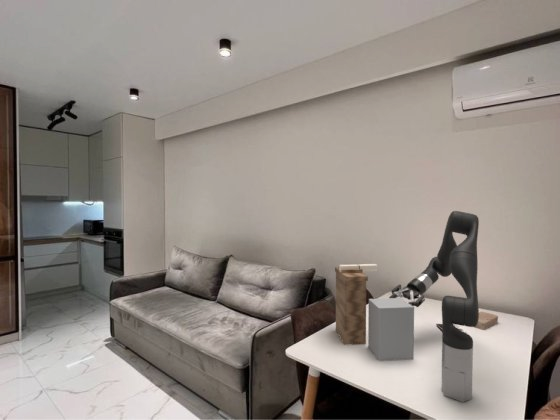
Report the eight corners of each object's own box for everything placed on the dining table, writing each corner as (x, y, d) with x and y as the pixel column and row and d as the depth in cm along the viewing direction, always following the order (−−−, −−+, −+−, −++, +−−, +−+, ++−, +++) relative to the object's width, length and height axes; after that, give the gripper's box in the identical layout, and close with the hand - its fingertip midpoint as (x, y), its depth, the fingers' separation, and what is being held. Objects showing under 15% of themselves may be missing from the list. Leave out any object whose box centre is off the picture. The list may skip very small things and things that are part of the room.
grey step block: (400, 345, 142) (400, 297, 141) (413, 359, 130) (414, 307, 129) (368, 347, 141) (368, 298, 140) (378, 360, 129) (379, 308, 128)
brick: (483, 331, 158) (484, 321, 158) (466, 325, 165) (466, 316, 165) (498, 323, 167) (498, 315, 167) (481, 319, 174) (481, 310, 174)
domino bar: (375, 270, 153) (375, 263, 153) (377, 271, 150) (377, 265, 150) (339, 271, 151) (339, 264, 151) (340, 272, 148) (340, 266, 148)
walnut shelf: (353, 327, 162) (353, 263, 161) (367, 345, 142) (367, 273, 141) (334, 328, 161) (334, 264, 160) (346, 346, 141) (346, 273, 140)
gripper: (405, 273, 152) (383, 291, 146) (432, 284, 140) (409, 304, 134) (408, 285, 155) (386, 304, 149) (434, 297, 143) (412, 317, 137)
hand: (397, 304), depth 141 cm, fingers open, 8 cm apart
